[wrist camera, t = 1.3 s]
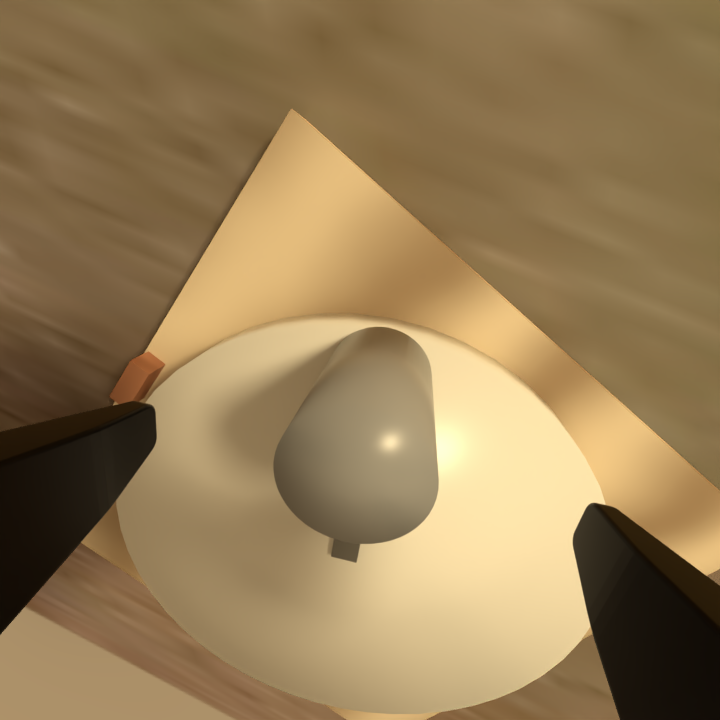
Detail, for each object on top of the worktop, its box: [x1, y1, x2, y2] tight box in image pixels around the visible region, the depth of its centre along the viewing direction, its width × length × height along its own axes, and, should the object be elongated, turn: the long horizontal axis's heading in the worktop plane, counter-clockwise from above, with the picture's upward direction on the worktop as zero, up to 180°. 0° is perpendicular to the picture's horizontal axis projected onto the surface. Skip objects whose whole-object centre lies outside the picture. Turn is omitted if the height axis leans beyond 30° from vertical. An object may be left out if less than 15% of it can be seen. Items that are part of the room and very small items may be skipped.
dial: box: [116, 313, 606, 714], centre depth 13 cm, size 19×19×6 cm
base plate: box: [81, 108, 720, 720], centre depth 17 cm, size 22×22×2 cm
